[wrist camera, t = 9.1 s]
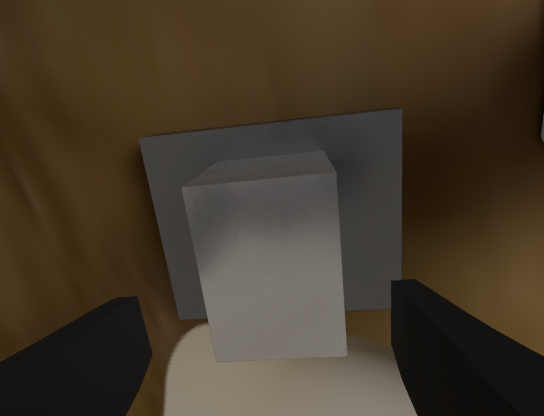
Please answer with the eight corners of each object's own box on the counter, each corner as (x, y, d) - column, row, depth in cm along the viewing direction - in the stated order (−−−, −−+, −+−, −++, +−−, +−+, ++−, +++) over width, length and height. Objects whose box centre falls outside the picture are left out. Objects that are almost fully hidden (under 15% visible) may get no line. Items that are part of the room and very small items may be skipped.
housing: (332, 286, 17) (346, 356, 12) (238, 292, 18) (216, 362, 13) (323, 150, 15) (336, 172, 10) (216, 162, 15) (181, 187, 11)
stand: (389, 108, 16) (402, 108, 14) (390, 287, 19) (401, 307, 17) (155, 134, 17) (138, 137, 15) (190, 299, 20) (179, 319, 18)
